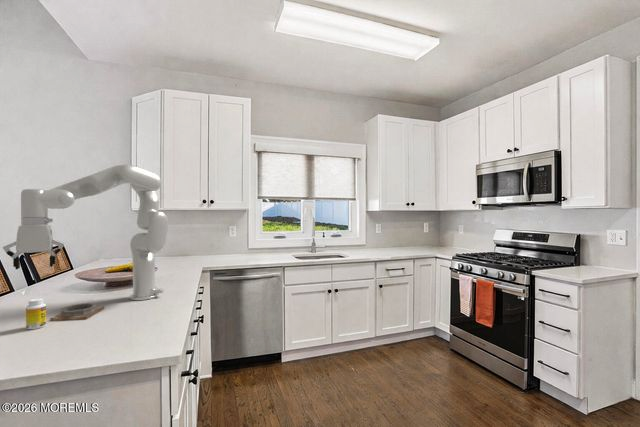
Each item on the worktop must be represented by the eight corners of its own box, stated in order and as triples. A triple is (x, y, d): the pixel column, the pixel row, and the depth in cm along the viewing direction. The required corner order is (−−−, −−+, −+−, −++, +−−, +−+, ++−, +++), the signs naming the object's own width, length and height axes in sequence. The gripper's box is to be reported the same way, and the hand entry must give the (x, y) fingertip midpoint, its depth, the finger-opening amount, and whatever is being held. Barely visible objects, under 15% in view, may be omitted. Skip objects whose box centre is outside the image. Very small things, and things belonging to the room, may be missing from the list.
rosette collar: (104, 309, 140) (104, 302, 140) (86, 319, 127) (86, 311, 127) (71, 310, 138) (71, 303, 138) (50, 320, 125) (50, 313, 125)
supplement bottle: (43, 328, 117) (42, 300, 117) (23, 331, 115) (22, 302, 115) (48, 323, 122) (47, 296, 122) (29, 326, 120) (28, 298, 120)
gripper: (64, 221, 129) (65, 264, 129) (5, 222, 119) (5, 268, 119) (63, 221, 123) (63, 266, 123) (0, 222, 113) (0, 271, 113)
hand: (35, 267), depth 121 cm, fingers open, 9 cm apart
